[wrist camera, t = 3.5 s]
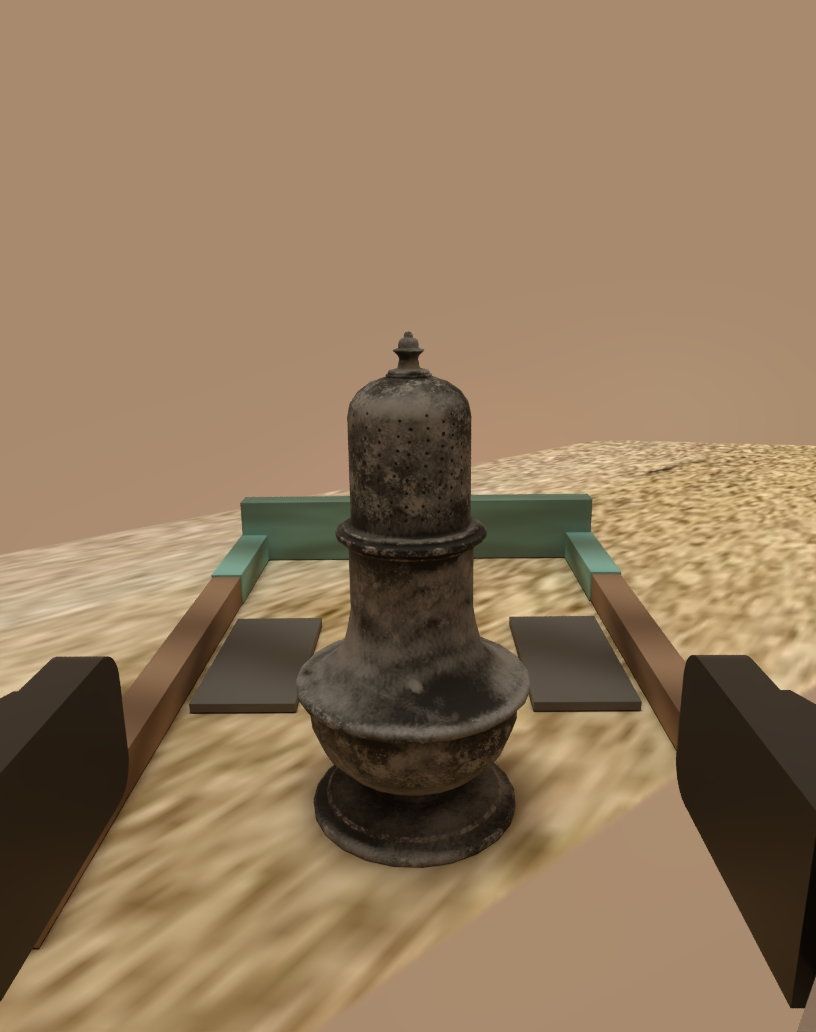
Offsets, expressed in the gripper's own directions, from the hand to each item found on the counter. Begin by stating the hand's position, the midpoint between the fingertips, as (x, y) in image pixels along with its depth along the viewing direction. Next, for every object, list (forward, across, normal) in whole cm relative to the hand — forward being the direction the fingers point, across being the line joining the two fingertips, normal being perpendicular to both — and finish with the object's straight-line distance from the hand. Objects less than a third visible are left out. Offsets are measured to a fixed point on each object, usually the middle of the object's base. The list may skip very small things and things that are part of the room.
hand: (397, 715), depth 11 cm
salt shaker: (+8, 0, +7) cm, 11 cm away
